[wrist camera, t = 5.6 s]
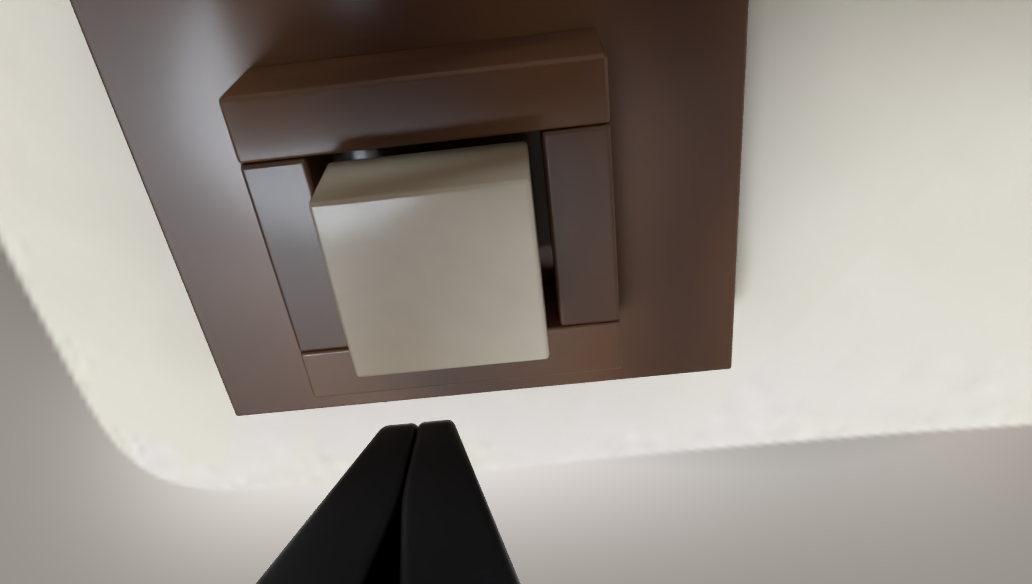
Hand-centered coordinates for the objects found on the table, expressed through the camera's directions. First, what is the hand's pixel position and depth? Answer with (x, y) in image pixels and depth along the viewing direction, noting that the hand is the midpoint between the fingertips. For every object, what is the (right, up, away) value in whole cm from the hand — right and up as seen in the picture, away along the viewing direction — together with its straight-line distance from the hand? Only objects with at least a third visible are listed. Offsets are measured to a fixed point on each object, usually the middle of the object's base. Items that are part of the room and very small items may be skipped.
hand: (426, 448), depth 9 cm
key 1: (0, +3, +5) cm, 6 cm away
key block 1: (0, +5, +9) cm, 10 cm away
